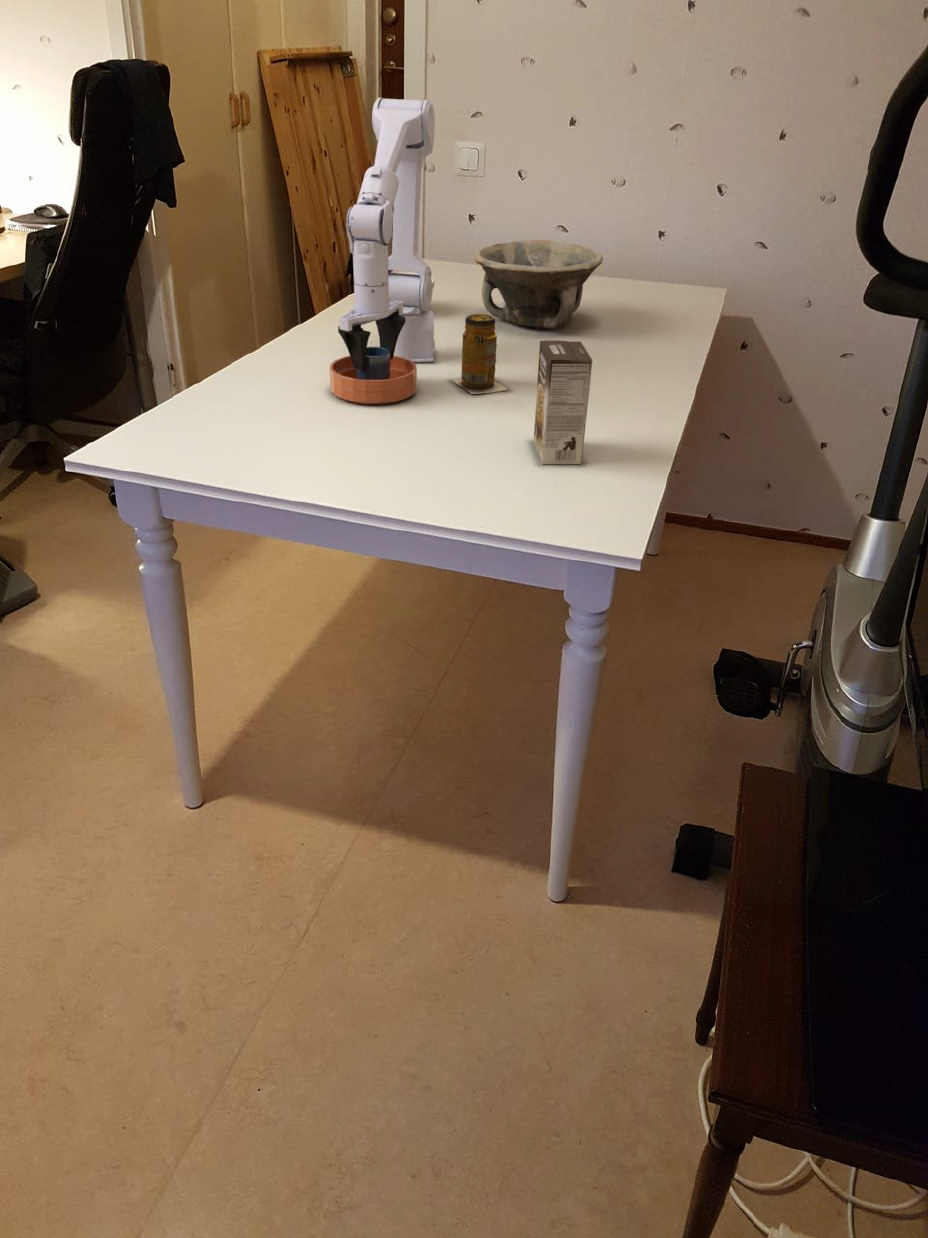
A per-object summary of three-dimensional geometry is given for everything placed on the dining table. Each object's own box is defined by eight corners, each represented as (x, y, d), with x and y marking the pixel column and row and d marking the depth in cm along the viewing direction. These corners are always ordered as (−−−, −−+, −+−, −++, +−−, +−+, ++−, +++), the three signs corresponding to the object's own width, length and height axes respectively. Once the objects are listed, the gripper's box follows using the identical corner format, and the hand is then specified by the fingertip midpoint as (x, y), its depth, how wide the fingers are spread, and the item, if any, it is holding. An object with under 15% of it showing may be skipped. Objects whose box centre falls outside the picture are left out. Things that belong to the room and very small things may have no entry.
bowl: (453, 330, 199) (455, 256, 191) (497, 301, 220) (500, 233, 212) (575, 347, 191) (582, 271, 183) (608, 316, 212) (616, 246, 204)
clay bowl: (414, 377, 173) (414, 353, 170) (418, 406, 160) (418, 380, 158) (332, 377, 172) (331, 353, 169) (329, 406, 159) (328, 380, 157)
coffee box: (531, 441, 149) (538, 339, 140) (571, 441, 149) (581, 339, 140) (540, 465, 141) (548, 358, 132) (582, 464, 141) (593, 358, 133)
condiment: (486, 376, 175) (489, 310, 168) (508, 390, 168) (511, 322, 162) (451, 380, 172) (452, 314, 165) (471, 395, 166) (473, 327, 159)
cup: (390, 382, 168) (389, 346, 165) (390, 393, 164) (390, 356, 160) (357, 382, 168) (356, 346, 164) (357, 393, 163) (355, 356, 160)
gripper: (380, 270, 163) (382, 348, 170) (323, 286, 153) (327, 368, 160) (412, 277, 160) (412, 356, 167) (356, 293, 149) (359, 377, 157)
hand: (373, 363), depth 163 cm, fingers open, 7 cm apart
